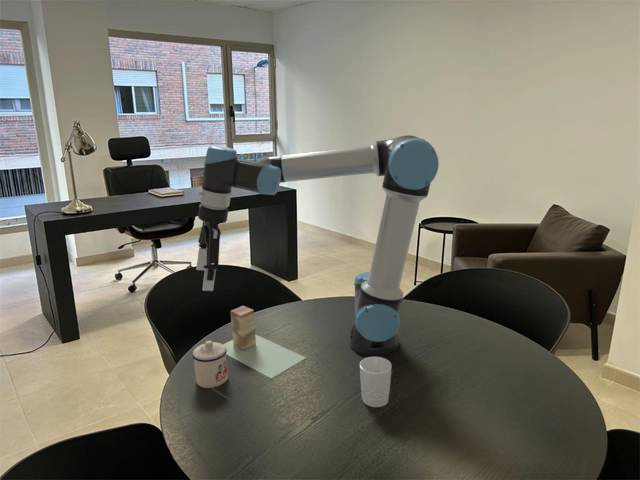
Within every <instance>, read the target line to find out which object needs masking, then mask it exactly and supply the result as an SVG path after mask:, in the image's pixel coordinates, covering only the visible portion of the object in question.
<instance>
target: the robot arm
mask: <svg viewBox="0 0 640 480" xmlns="http://www.w3.org/2000/svg"><path fill="white" fill-rule="evenodd" d="M439 164H440V163H439V157H438V154H437V151H436V150H435V148H434V147H433V145H432V144H431V143H430V142H428V141H426V140H425V139H424V138H423V139H422V138H420V137H417V136H414V135H411V134H409V135H401V136H398V137H394V138H388V139H385V140H376V141H374V142H373V143H372V144H371V145H366V146H365V145H364V146H357V147H346V148H339V149H338V148H337V149H330V150H329V149H327V150H320V151H310V152H309V151H308V152H301V153H293V154H283V155H275V156H274V155H273V156H271V155H266V156H265V155H264V156H261V157H260V158H258V159H256V161H252V160H246V159H241V158H240V157H238V155H237V150H236V149H234V148H233V147H228V146H222V145H210V146H209V147H207V150H206V153H205V161H204V164H203V165H204V167H203V173H202V174H203V176H202V185H201V191H198V196H200V200H199V202H200V204H199V206H198V215H197V217H198V219H199V220H201V221H202V225H201V230H200V233H199V237H198V243H199V244H198V246H199V247H198V252H197V253H198V254H197V260H196V261H197V262H196V267H195V268H196V269H195V270H196V271H204V275H203V281H202V288H201V289H202V291H204V292H206V291H207V292H209V291H210V292H213V291H214V285H215V279H216V271H217V270H219V269H220V268H219V267H220V266H219V265H220V264H219V261H220V259H219V258H220V242H221V240H220V239H221V233H222V232H221V229H220V228H219V225H220V224H225V223H226V222H227V220H228V216H229V215H228V214H229V208H228V207H230V205H231V204H230V203H231V197H232V188H235V189H241V190H245V191H250V192H254V193H258V194H261V195H268V196H275V195H276V194H277V193H278V192H279V191H278V190H279V188H280V184H282V183H286V182H287V183H289V182H296V181H297V182H298V181H308V180H320V179H328V178H337V177H338V178H339V177H349V176H359V175H360V176H361V175H366V174H368V175H369V174H374V175H376V176H377V177H383V182H382V185H381V188H382V189H383V191H384V192H385V201H384V205H383V210H382V215H381V219H380V223H379V228H378V233H377V237H376V242H375V245H374V246H375V247H374V252H373V256H372V261H371V264H370V265H371V266H370V270H369V272H363V273H362V272H361V273H359V274H357V275H355V278H354V283H353V285H354V322H353V325H352V329H351V330H350V334H349V337H348V338H349V339H348V341H349V347H350V349H352V350H353V351H354V352H356V353H359V354H362V355H365V356H370V357H381V356H385V355H388V354H391V353H393V352H395V351H396V350H397V349H398V345H399V336H398V331H399V329H400V324H401V318H400V312H401V311H400V310H401V308H402V303H403V298H404V292H403V291H402V289H401V287H400V286H401V284H402V283H401V282H402V278H403V273H404V269H405V265H406V261H407V257H408V252H409V248H410V245H411V240H412V235H413V232H414V229H415V228H414V227H415V224H416V219H417V215H418V210H419V206H420V203H421V201H423V200H424V199H426V198H428V195H429V191H430V186H431V183H432V182H434V181H433V180H434V179H435V178H436V176H437V174H438V171H439Z"/></svg>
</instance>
